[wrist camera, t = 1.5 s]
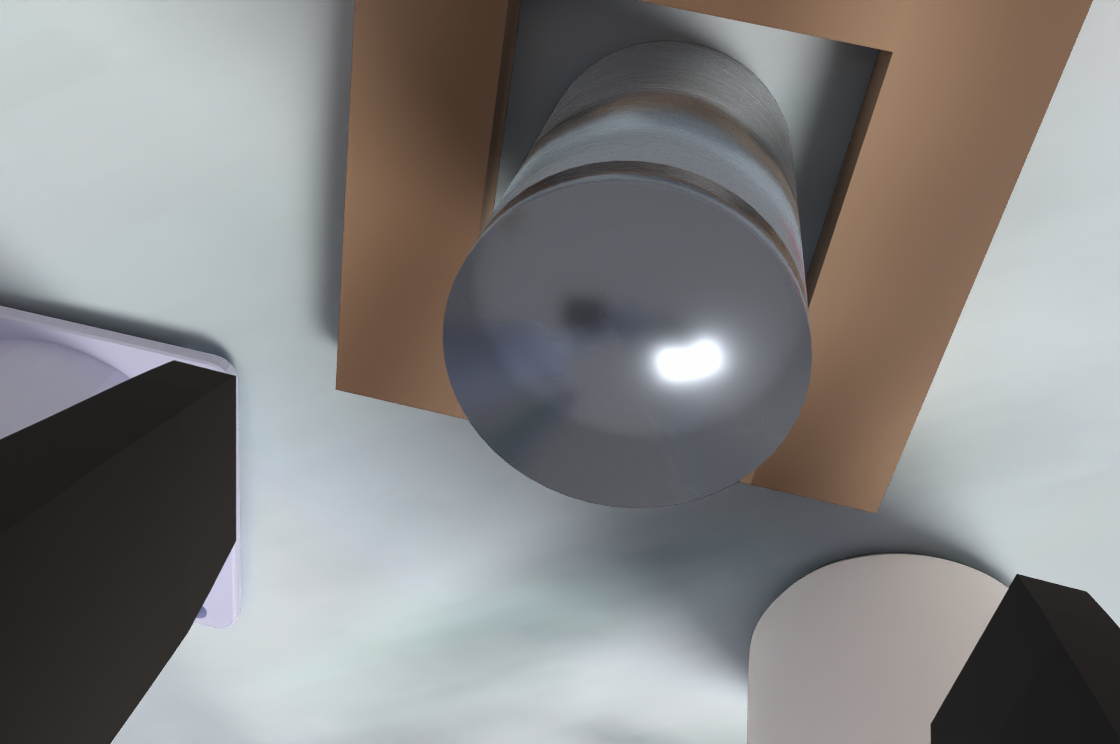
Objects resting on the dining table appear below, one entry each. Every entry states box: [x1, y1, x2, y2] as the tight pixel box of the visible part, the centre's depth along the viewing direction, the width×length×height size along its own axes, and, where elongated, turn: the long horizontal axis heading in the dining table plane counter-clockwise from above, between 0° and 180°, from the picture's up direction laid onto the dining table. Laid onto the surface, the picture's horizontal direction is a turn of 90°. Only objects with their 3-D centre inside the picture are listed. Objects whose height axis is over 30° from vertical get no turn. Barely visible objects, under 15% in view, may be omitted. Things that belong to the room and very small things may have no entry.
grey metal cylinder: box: [443, 41, 812, 508], centre depth 15 cm, size 4×4×7 cm
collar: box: [336, 0, 1093, 513], centre depth 18 cm, size 11×11×1 cm
